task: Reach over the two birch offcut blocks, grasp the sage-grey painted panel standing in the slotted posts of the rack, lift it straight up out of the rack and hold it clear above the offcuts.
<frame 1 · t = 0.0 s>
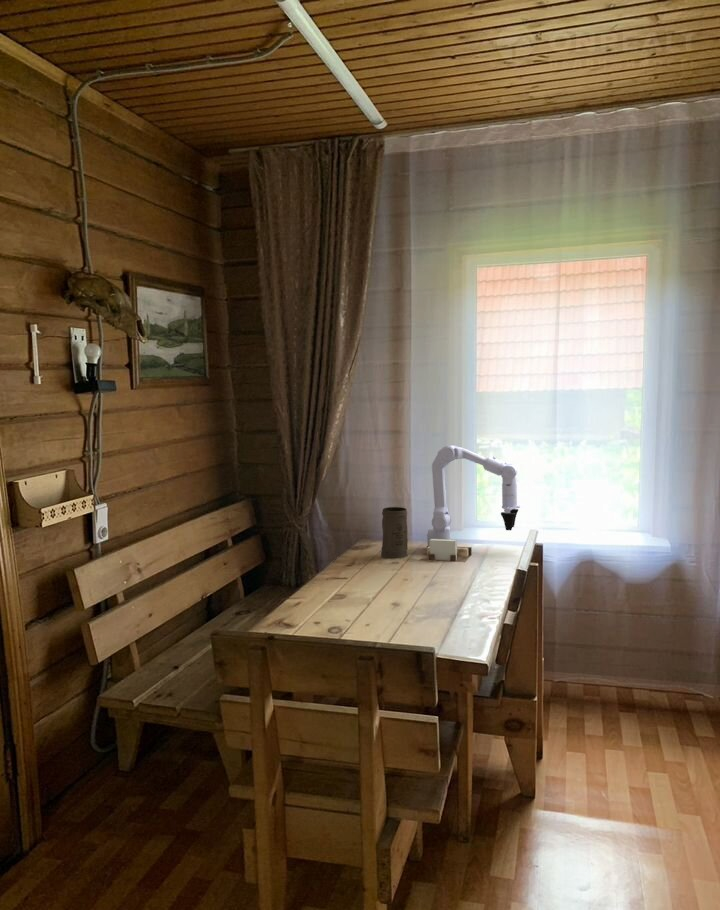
hand: (510, 528, 279), 10 cm above the table, tool pointing down, fingers open, 7 cm apart
panel: (443, 559, 269), point 1 cm above the table, touching rack
offcut right: (460, 555, 275), point 1 cm above the table, touching rack
offcut left: (435, 554, 278), point 1 cm above the table, touching rack
beer stein: (391, 557, 280), on the table
rack: (445, 559, 273), on the table
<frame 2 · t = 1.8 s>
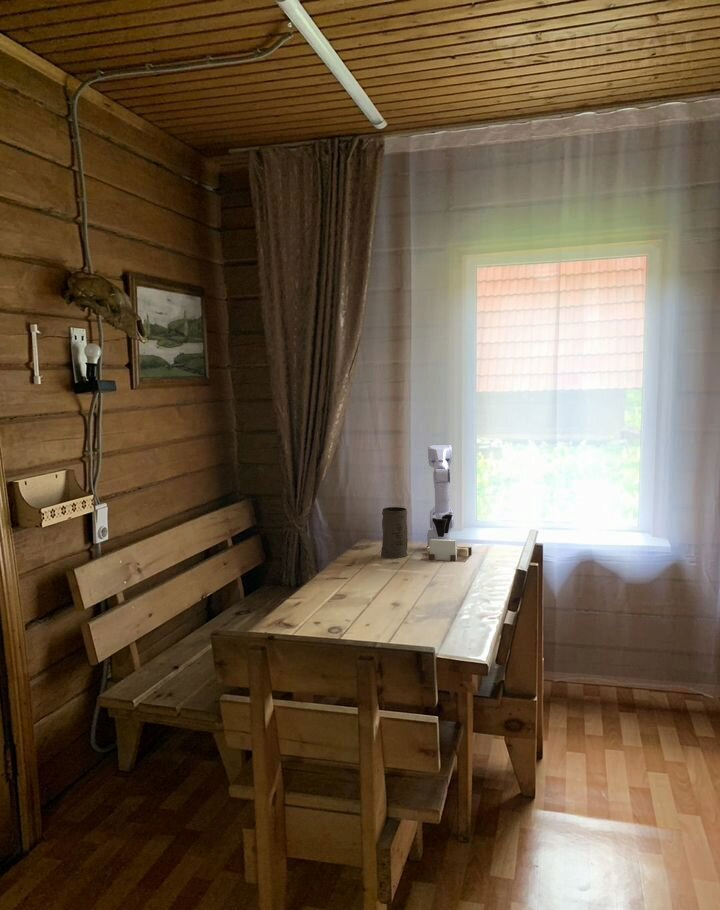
hand: (443, 534, 269), 10 cm above the table, tool pointing down, fingers open, 7 cm apart
nothing on the table moved.
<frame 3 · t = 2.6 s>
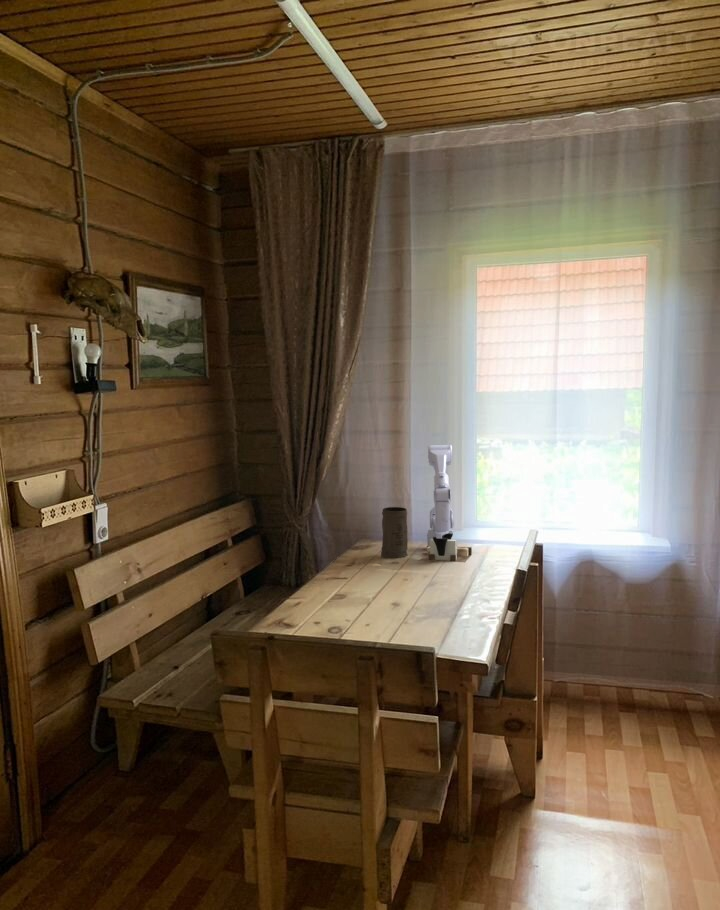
hand: (443, 553, 269), 3 cm above the table, tool pointing down, fingers open, 7 cm apart
nothing on the table moved.
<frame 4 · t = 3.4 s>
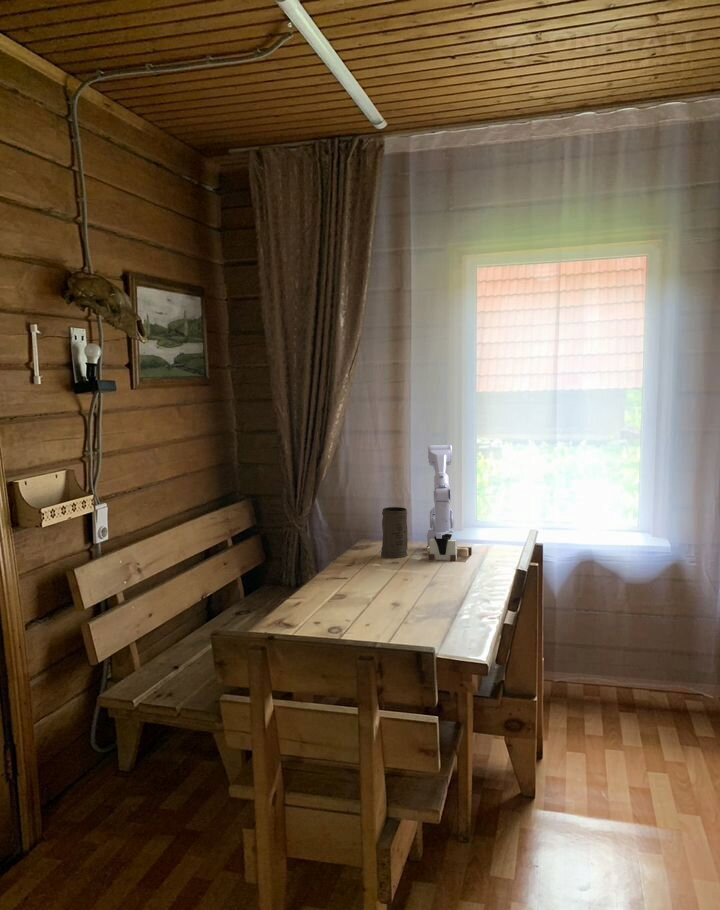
hand: (443, 553, 269), 3 cm above the table, tool pointing down, fingers closed on panel, 3 cm apart
panel: (443, 559, 269), point 1 cm above the table, touching gripper, rack
everything else where it was.
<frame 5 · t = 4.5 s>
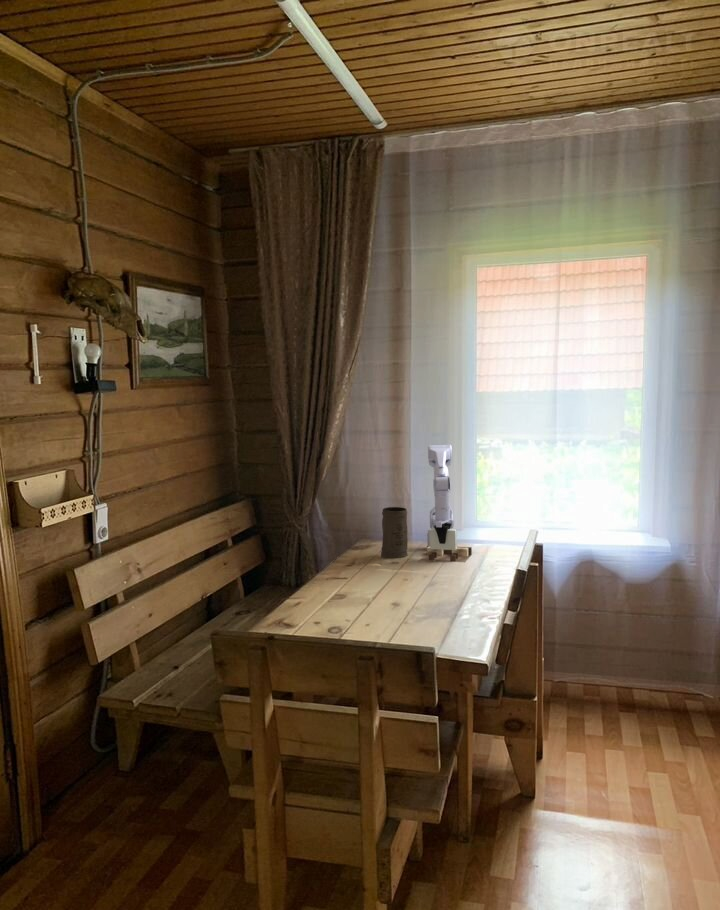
hand: (443, 542, 269), 7 cm above the table, tool pointing down, fingers closed on panel, 3 cm apart
panel: (443, 548, 269), point 5 cm above the table, touching gripper
everything else where it was.
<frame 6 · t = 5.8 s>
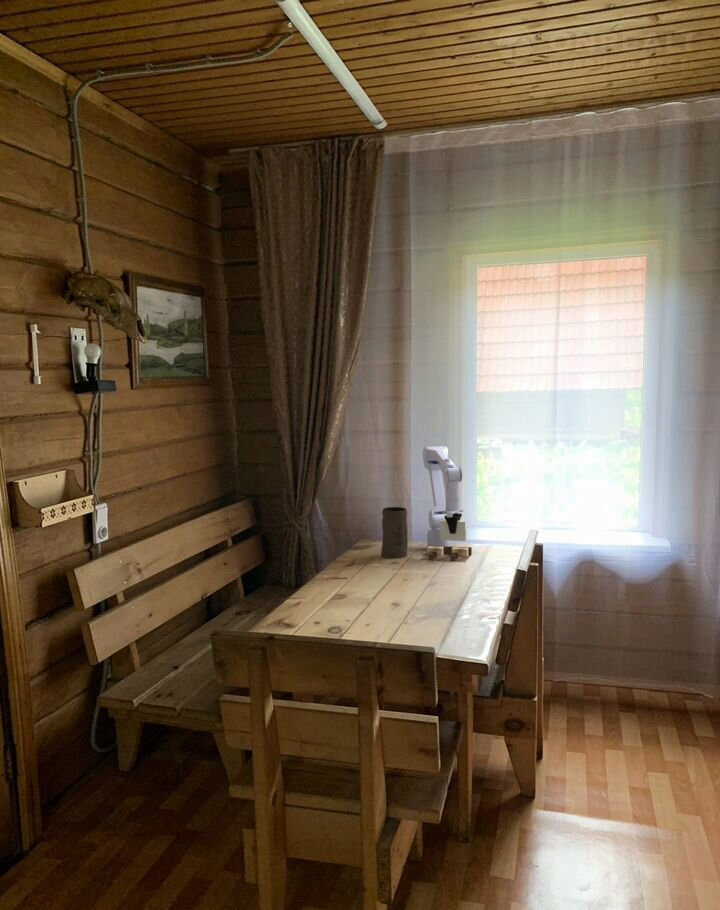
hand: (453, 532, 272), 10 cm above the table, tool pointing down, fingers closed on panel, 3 cm apart
panel: (453, 539, 272), point 8 cm above the table, touching gripper
everything else where it was.
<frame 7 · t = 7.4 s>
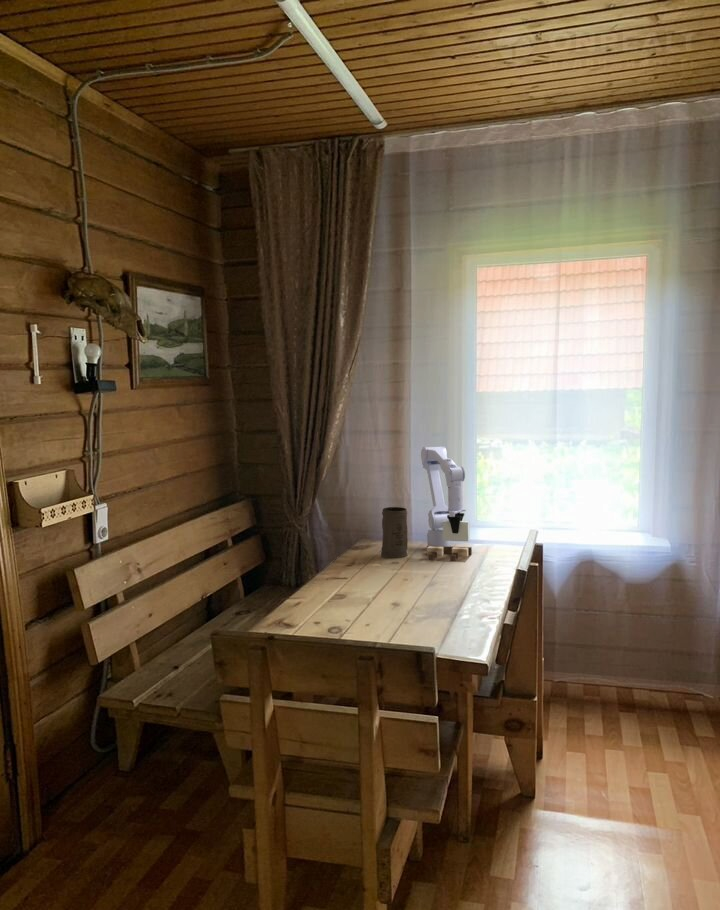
hand: (456, 532, 272), 10 cm above the table, tool pointing down, fingers closed on panel, 3 cm apart
panel: (456, 540, 273), point 7 cm above the table, touching gripper
everything else where it was.
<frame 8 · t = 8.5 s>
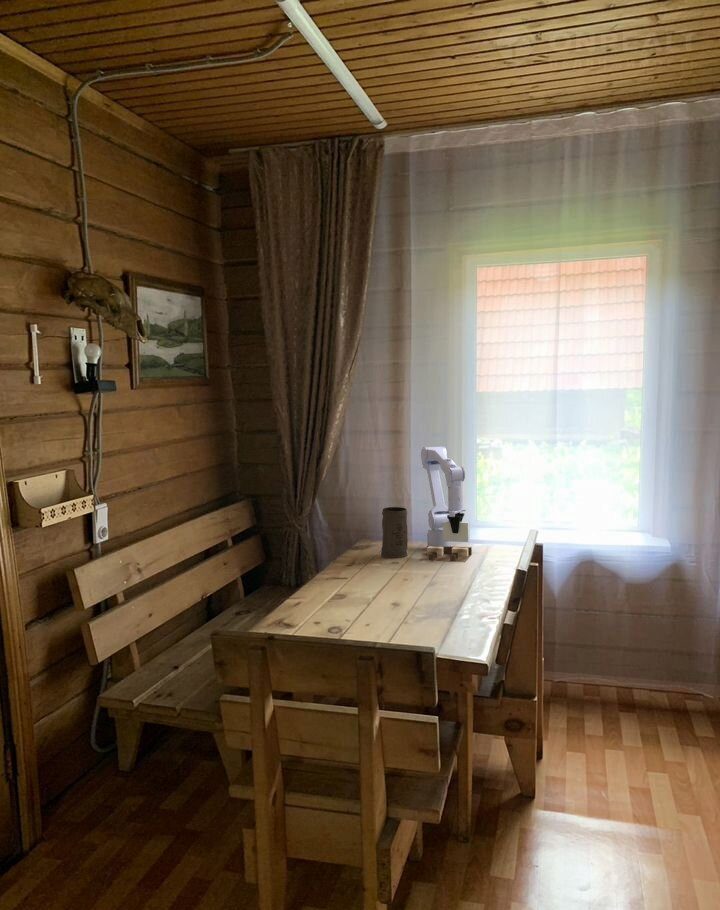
hand: (456, 532, 272), 10 cm above the table, tool pointing down, fingers closed on panel, 3 cm apart
panel: (456, 541, 273), point 7 cm above the table, touching gripper
everything else where it was.
at the end: the gripper is holding panel; panel point 7.0 cm above the table; offcut right moved 0.0 cm from its start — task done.
